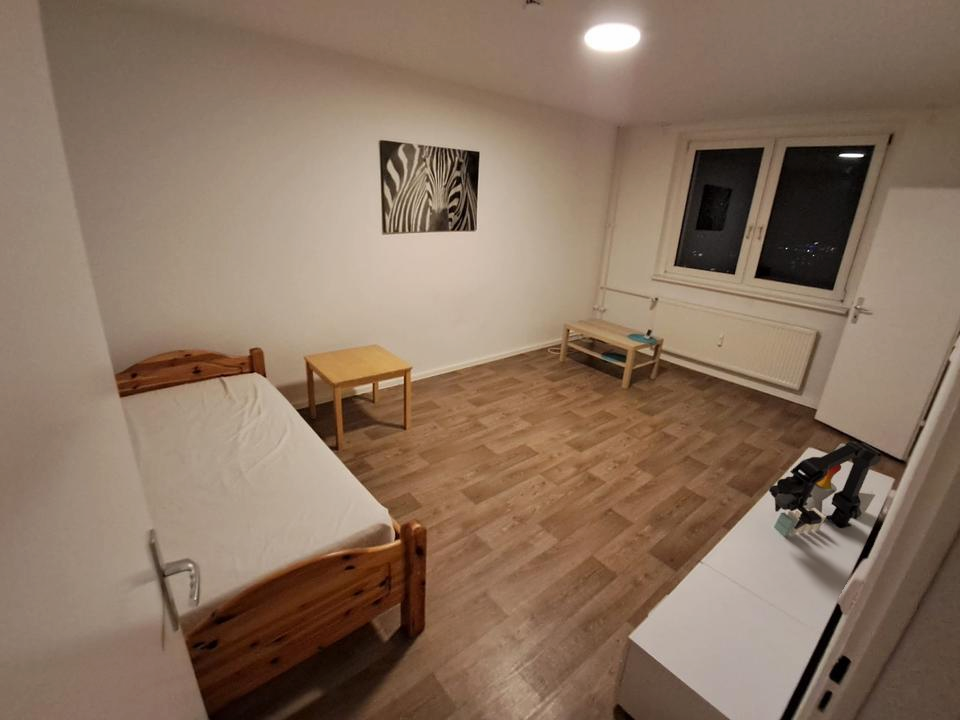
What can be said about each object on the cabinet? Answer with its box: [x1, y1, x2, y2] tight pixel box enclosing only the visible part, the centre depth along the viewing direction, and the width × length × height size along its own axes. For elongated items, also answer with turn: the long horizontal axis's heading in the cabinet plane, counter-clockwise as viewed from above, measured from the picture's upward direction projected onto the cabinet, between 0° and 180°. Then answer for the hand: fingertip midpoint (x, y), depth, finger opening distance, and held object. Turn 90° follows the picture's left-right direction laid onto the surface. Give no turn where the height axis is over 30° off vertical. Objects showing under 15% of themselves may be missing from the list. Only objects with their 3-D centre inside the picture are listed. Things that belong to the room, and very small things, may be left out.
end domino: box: [811, 508, 827, 533], centre depth 179 cm, size 2×5×8 cm, turn 14°
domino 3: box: [794, 509, 808, 535], centre depth 177 cm, size 2×5×8 cm, turn 14°
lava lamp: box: [804, 443, 847, 514], centre depth 182 cm, size 9×9×35 cm
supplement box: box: [858, 482, 876, 518], centre depth 190 cm, size 7×7×13 cm
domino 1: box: [773, 512, 795, 538], centre depth 175 cm, size 2×5×8 cm, turn 14°
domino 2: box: [787, 510, 799, 536], centre depth 176 cm, size 2×5×8 cm, turn 14°
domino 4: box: [804, 509, 815, 534], centre depth 178 cm, size 2×5×8 cm, turn 14°
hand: (786, 519), depth 174 cm, fingers open, 9 cm apart
